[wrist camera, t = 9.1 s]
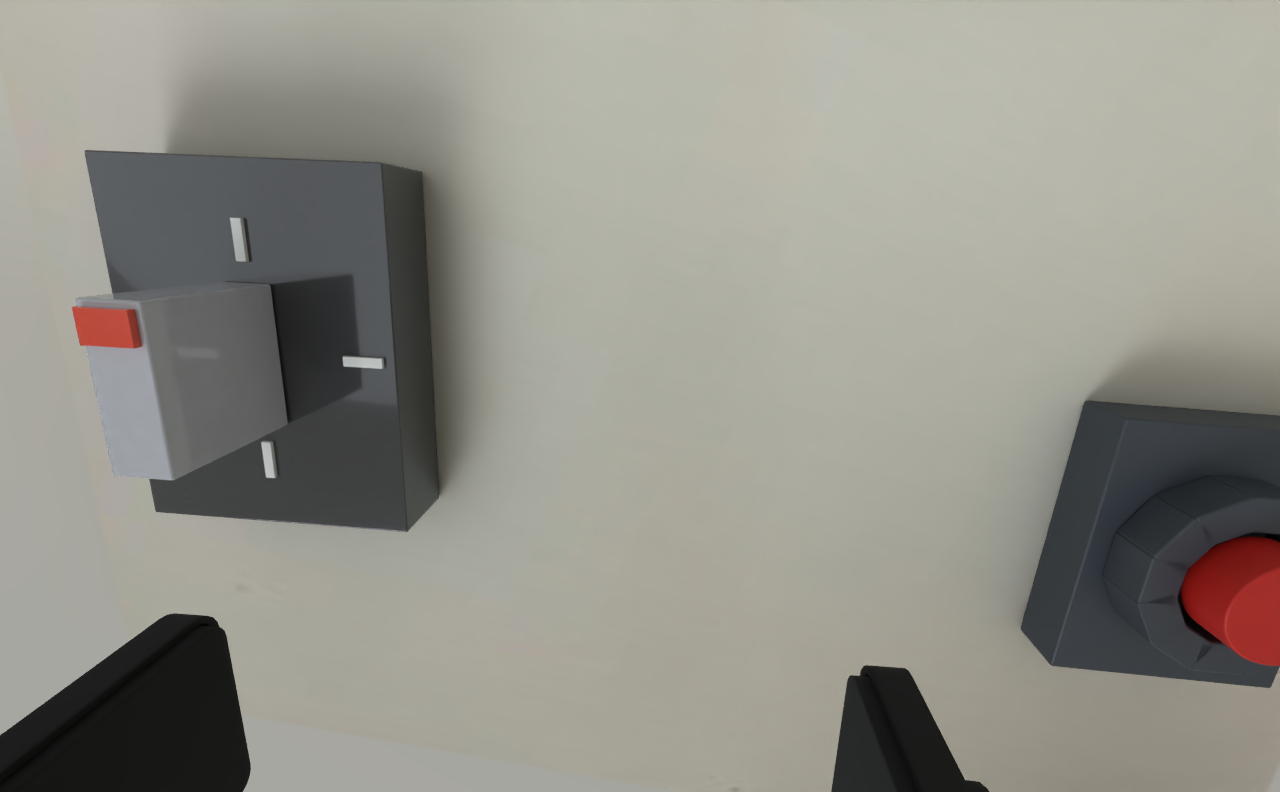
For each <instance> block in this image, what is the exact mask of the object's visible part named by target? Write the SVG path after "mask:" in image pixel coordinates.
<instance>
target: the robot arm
mask: <svg viewBox="0 0 1280 792" xmlns="http://www.w3.org/2000/svg"><path fill="white" fill-rule="evenodd" d="M250 769H251V768H250V759H249V754H248V749H247V743H246V738H245V733H244V727H243V722H242V717H241V711H240V706H239V701H238V695H237V690H236V685H235V679H234V674H233V669H232V663H231V658H230V653H229V647H228V642H227V637H226V634H225V631H224V630H223V629H222V628H219V625H218V622H217V621H216V620H215V619H214V618H213V617H209V616H201V615H187V614H169V615H166V616H164V617H163V618H161V619H159V620H158V621H156V622H155V623H154V624H152V625H151V626H149V627H148V628H147V629H145V630H144V631H143V632H141V633H140V634H138V635H137V636H136V637H134V638H133V639H132V640H130V641H129V642H128V643H126V644H125V645H123V646H122V647H121V648H119V649H118V650H117V651H115V652H114V653H112V654H111V655H110V656H108V657H107V658H106V659H104V660H103V661H102V662H100V663H99V664H97V665H96V666H95V667H93V668H92V669H91V670H89V671H88V672H86V673H85V674H84V675H82V676H81V677H80V678H78V679H77V680H76V681H74V682H73V683H71V684H70V685H69V686H67V687H66V688H64V689H63V690H62V691H60V692H59V693H58V694H57V695H55V696H54V697H52V698H51V699H50V700H48V701H47V702H45V703H44V704H43V705H41V706H40V707H38V708H37V709H36V710H34V711H33V712H32V713H31V714H29V715H27V716H26V717H25V718H24V719H22V720H21V721H19V722H18V723H17V724H15V725H14V726H13V727H11V728H10V729H8V730H7V731H6V732H4V733H3V734H1V735H0V792H243V790H244V788H245V786H246V784H247V782H248V779H249V776H250ZM831 792H989V791H988V789H987V788H986V787H985V786H983V785H982V784H981V783H980V782H976V781H968V780H965V779H964V777H963V775H962V773H961V771H960V769H959V768H958V766H957V764H956V762H955V760H954V758H953V756H952V754H951V752H950V750H949V748H948V746H947V744H946V742H945V740H944V738H943V736H942V734H941V732H940V730H939V728H938V726H937V724H936V722H935V720H934V718H933V716H932V715H931V713H930V711H929V709H928V707H927V705H926V703H925V701H924V699H923V697H922V695H921V693H920V691H919V689H918V687H917V685H916V683H915V681H914V679H913V677H912V676H911V674H910V672H909V671H908V670H906V669H905V668H894V667H880V666H867V665H866V666H863V668H862V670H861V673H860V676H853V675H851V676H849V678H848V682H847V688H846V695H845V701H844V708H843V715H842V722H841V729H840V736H839V743H838V750H837V757H836V764H835V771H834V777H833V784H832V791H831Z"/></svg>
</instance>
